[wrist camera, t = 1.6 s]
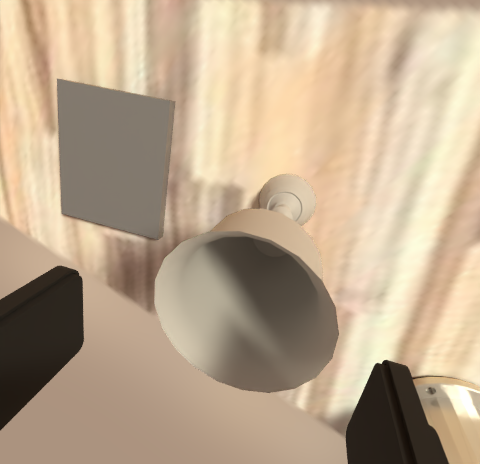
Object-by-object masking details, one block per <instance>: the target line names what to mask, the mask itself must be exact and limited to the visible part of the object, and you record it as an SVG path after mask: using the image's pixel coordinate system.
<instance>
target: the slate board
mask: <svg viewBox="0 0 480 464" xmlns="http://www.w3.org/2000/svg"><path fill="white" fill-rule="evenodd" d="M57 91H58V119H59V148H60V177H61V206H62V214H65V215H68V216H72V217H76V218H79V219H83V220H87V221H90V222H94V223H98V224H102V225H105V226H109V227H113V228H116V229H120V230H124V231H127V232H131V233H135V234H138V235H142V236H146V237H149V238H153V239H157V240H158V239H160V238H161V237H162V236H163V226H164V216H165V205H166V194H167V183H168V173H169V162H170V151H171V141H172V130H173V119H174V108H175V101H170V100H165V99H160V98H155V97H150V96H145V95H140V94H135V93H130V92H125V91H120V90H115V89H110V88H105V87H99V86H94V85H89V84H84V83H79V82H74V81H69V80H64V79H57Z"/></svg>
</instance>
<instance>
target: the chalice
mask: <svg viewBox="0 0 480 464" xmlns="http://www.w3.org/2000/svg"><path fill="white" fill-rule="evenodd" d="M259 204H260V209H243V210H241V211H238V212H235V213H233V214H230V215H228V216H226V217H225V218H224V219H223V220H222V221H221V222H220V223H219V224H217V225H216V226H215V227H214V228H213V229H212V230H211V231H210V232H206V233H204V234H201V235H198V236H196V237H193V238H190V239H188V240H185V241H183V242H181V243H180V244H179V245H178V246H177V247H176V248H175V249H174V250H173V251H172V252H171V253H170V254H169V255H167V256H166V257H165V258H164V260H163V263H162V265H161V267H160V270H159V272H158V274H157V277H156V279H155V299H154V304H155V308H156V311H157V314H158V317H159V320H160V324H161V327H162V329H163V330H164V332H165V333H166V335H167V336H168V338H169V340H170V341H171V343H172V344H173V345H174V347H175V349H176V350H177V351H178V352H180V354H181V355H182V356H183V357H185V358H186V359H187V360H188V361H189V362H190V363H191V364H192V365H193V366H194V367H195V368H197V369H198V370H200V371H202V372H204V373H205V374H207V375H208V376H210V377H211V378H213V379H215V380H216V381H219V382H222V383H225V384H227V385H230V386H233V387H235V388H239V389H241V390H248V391H257V392H266V393H271V392H277V391H283V390H289V389H295V388H297V387H298V386H300V385H302V384H304V383H306V382H308V381H310V380H312V379H314V378H316V377H317V376H318V375H319V373H320V372H321V371H322V370H323V369H324V367H325V366H326V365H327V364H328V363H329V361H330V360H331V359H332V357H333V353H334V350H335V346H336V343H337V339H338V335H339V331H338V323H337V316H336V308H335V305H334V303H333V301H332V299H331V297H330V295H329V293H328V291H327V289H326V288H325V286H324V284H323V268H322V261H321V254H320V252H319V250H318V248H317V246H316V244H315V242H314V240H313V238H312V237H311V236H310V235H309V234H308V233H307V232H306V231H305V229H304V228H303V227H302V225H304V224H305V223H306V222H308V221H309V220H310V218H311V217H312V215H313V214H314V211H315V207H316V195H315V193H314V191H313V188H312V187H311V186H310V184H309V183H308V182H307V181H306V180H304V179H303V178H301V177H299V176H297V175H292V174H283V175H278V176H276V177H274V178H271V179H270V180H269V181H268V182H267V183H266V184H265V185H264V187H263V189H262V190H261V192H260V198H259Z"/></svg>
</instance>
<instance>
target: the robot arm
mask: <svg viewBox="0 0 480 464" xmlns="http://www.w3.org/2000/svg"><path fill="white" fill-rule="evenodd" d="M82 286H83V284H82V278H81V276H79V273H78V271H76V270H74V269H70V268H67V267H64V266H57V267H55V268H53V269H51V270H50V271H48V272H46V273H45V274H43V275H41V276H40V277H38V278H36V279H35V280H33V281H31V282H29V283H28V284H26V285H25V286H23V287H21V288H19V289H18V290H16V291H14V292H13V293H11V294H9V295H8V296H6V297H4V298H2V299H1V300H0V430H1V429H2V428H3V427H4V426H5V425H6V424H7V423H8V422H9V421H10V420H11V419H12V418H13V417H14V416H15V415H16V414H17V413H18V412H19V411H20V410H21V409H22V408H23V407H24V406H25V405H26V404H27V403H28V402H29V401H30V400H31V399H32V398H33V397H34V396H35V395H36V394H37V393H38V392H39V391H40V390H41V389H42V388H43V387H44V386H45V385H46V384H47V383H48V382H49V381H50V380H51V379H52V378H53V377H54V376H55V375H56V374H57V373H58V372H59V371H60V370H61V369H62V368H63V367H64V366H65V365H66V364H67V363H68V362H69V361H70V360H71V359H72V358H73V357H74V356H75V355H76V354H77V353H78V352H79V350H80V349H81V347H82V345H83V341H84V334H83V333H84V331H83V287H82ZM346 447H347V459H348V464H480V387H479V386H477V385H474V384H472V383H469V382H466V381H462V380H459V379H453V378H447V377H425V378H417V379H412V376H411V373H410V371H409V369H408V367H407V366H405V365H402V364H398V363H395V362H391V361H388V360H384V361H383V362H382V364H379V363H376V364H375V366H374V368H373V370H372V372H371V375H370V377H369V379H368V381H367V384H366V386H365V388H364V390H363V393H362V395H361V397H360V399H359V402H358V404H357V406H356V408H355V411H354V413H353V415H352V417H351V420H350V422H349V424H348V427H347V431H346Z"/></svg>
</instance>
